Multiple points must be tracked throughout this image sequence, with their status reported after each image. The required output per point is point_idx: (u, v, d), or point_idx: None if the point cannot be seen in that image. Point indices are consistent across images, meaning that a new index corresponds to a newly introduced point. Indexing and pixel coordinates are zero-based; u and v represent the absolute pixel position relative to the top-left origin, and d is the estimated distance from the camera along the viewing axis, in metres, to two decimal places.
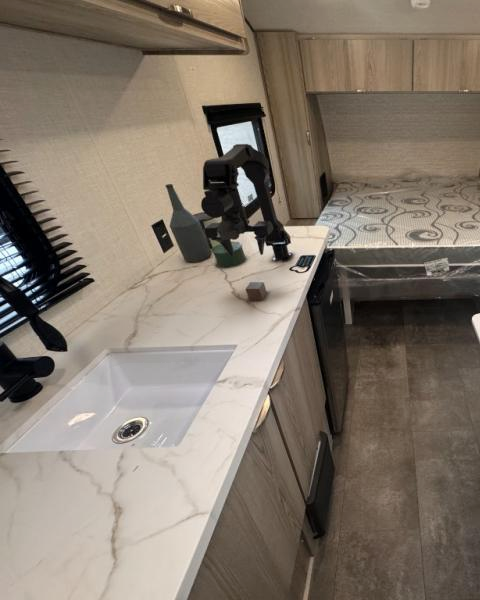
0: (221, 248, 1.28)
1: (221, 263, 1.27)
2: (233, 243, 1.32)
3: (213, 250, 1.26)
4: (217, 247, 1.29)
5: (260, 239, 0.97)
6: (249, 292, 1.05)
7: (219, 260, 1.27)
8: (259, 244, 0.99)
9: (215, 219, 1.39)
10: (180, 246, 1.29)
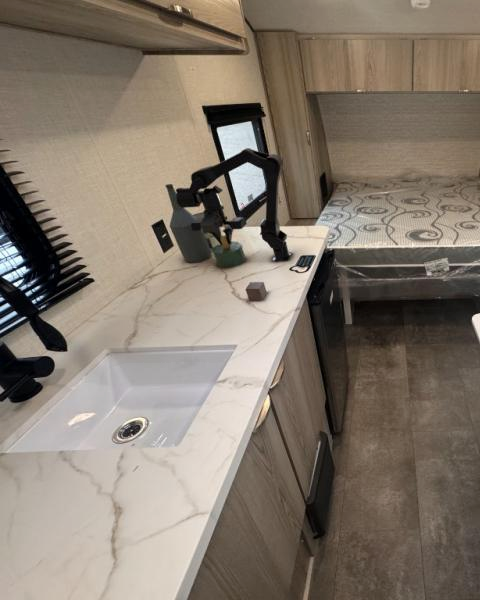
0: (221, 248, 1.28)
1: (221, 263, 1.27)
2: (233, 243, 1.32)
3: (213, 250, 1.26)
4: (217, 247, 1.29)
5: (227, 232, 1.23)
6: (249, 292, 1.05)
7: (219, 260, 1.27)
8: (227, 236, 1.25)
9: None
10: (180, 246, 1.29)
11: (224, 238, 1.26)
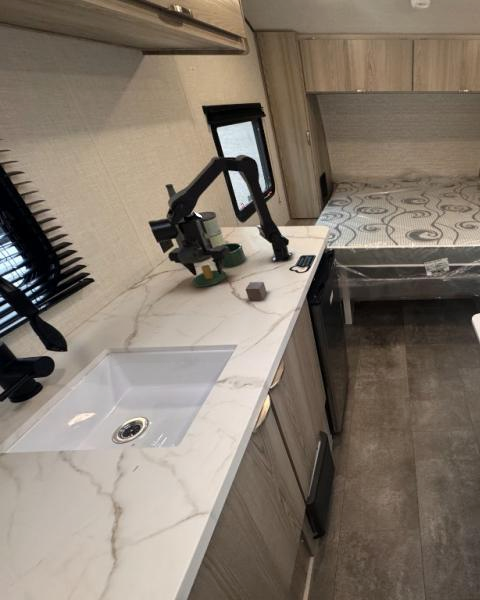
0: (203, 279, 1.18)
1: None
2: (216, 272, 1.22)
3: (194, 281, 1.17)
4: (199, 277, 1.19)
5: (217, 262, 1.13)
6: (249, 292, 1.05)
7: None
8: (217, 265, 1.15)
9: (215, 219, 1.39)
10: (180, 246, 1.29)
11: (206, 268, 1.16)
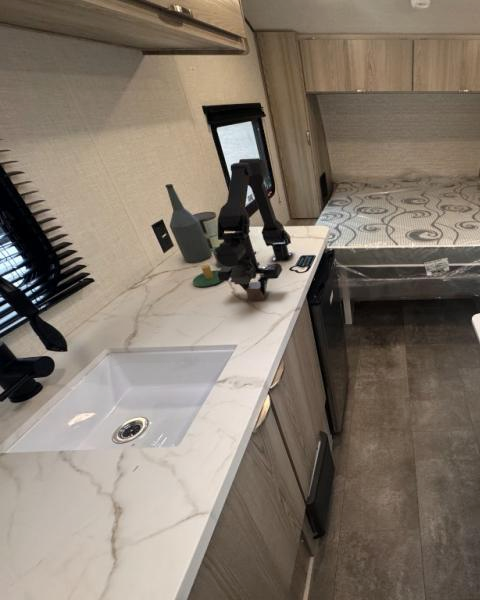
0: (203, 279, 1.18)
1: None
2: (216, 272, 1.22)
3: (194, 281, 1.17)
4: (199, 277, 1.19)
5: (263, 281, 1.04)
6: (249, 292, 1.05)
7: None
8: (262, 285, 1.05)
9: (215, 219, 1.39)
10: (180, 246, 1.29)
11: (206, 268, 1.16)
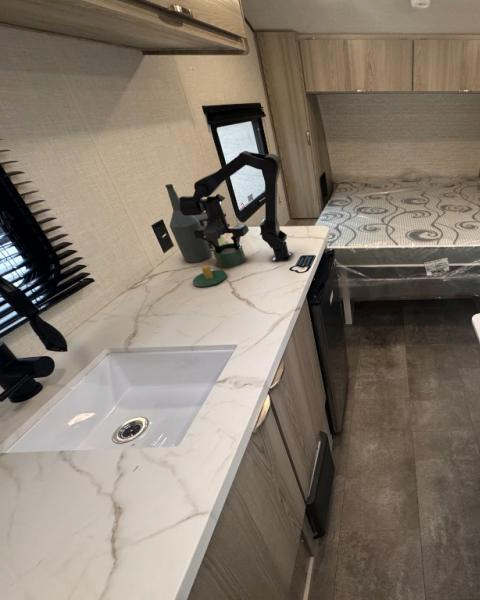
0: (203, 279, 1.18)
1: (221, 263, 1.27)
2: (216, 272, 1.22)
3: (194, 281, 1.17)
4: (199, 277, 1.19)
5: (235, 239, 1.25)
6: None
7: (219, 260, 1.27)
8: (235, 243, 1.27)
9: None
10: (180, 246, 1.29)
11: (206, 268, 1.16)
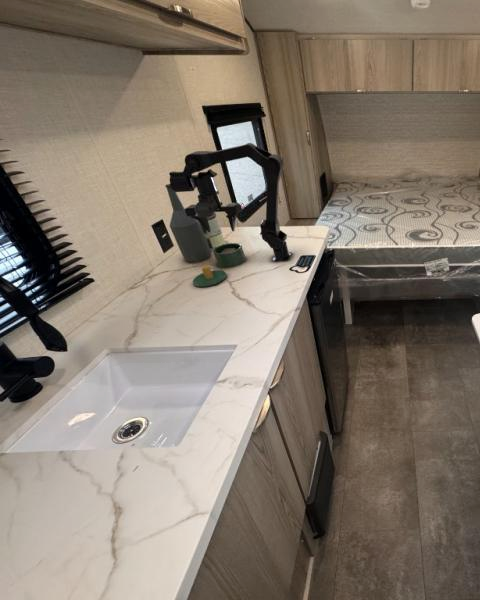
0: (203, 279, 1.18)
1: (221, 263, 1.27)
2: (216, 272, 1.22)
3: (194, 281, 1.17)
4: (199, 277, 1.19)
5: (231, 217, 1.20)
6: None
7: (219, 260, 1.27)
8: (230, 222, 1.22)
9: (215, 219, 1.39)
10: (180, 246, 1.29)
11: (206, 268, 1.16)
